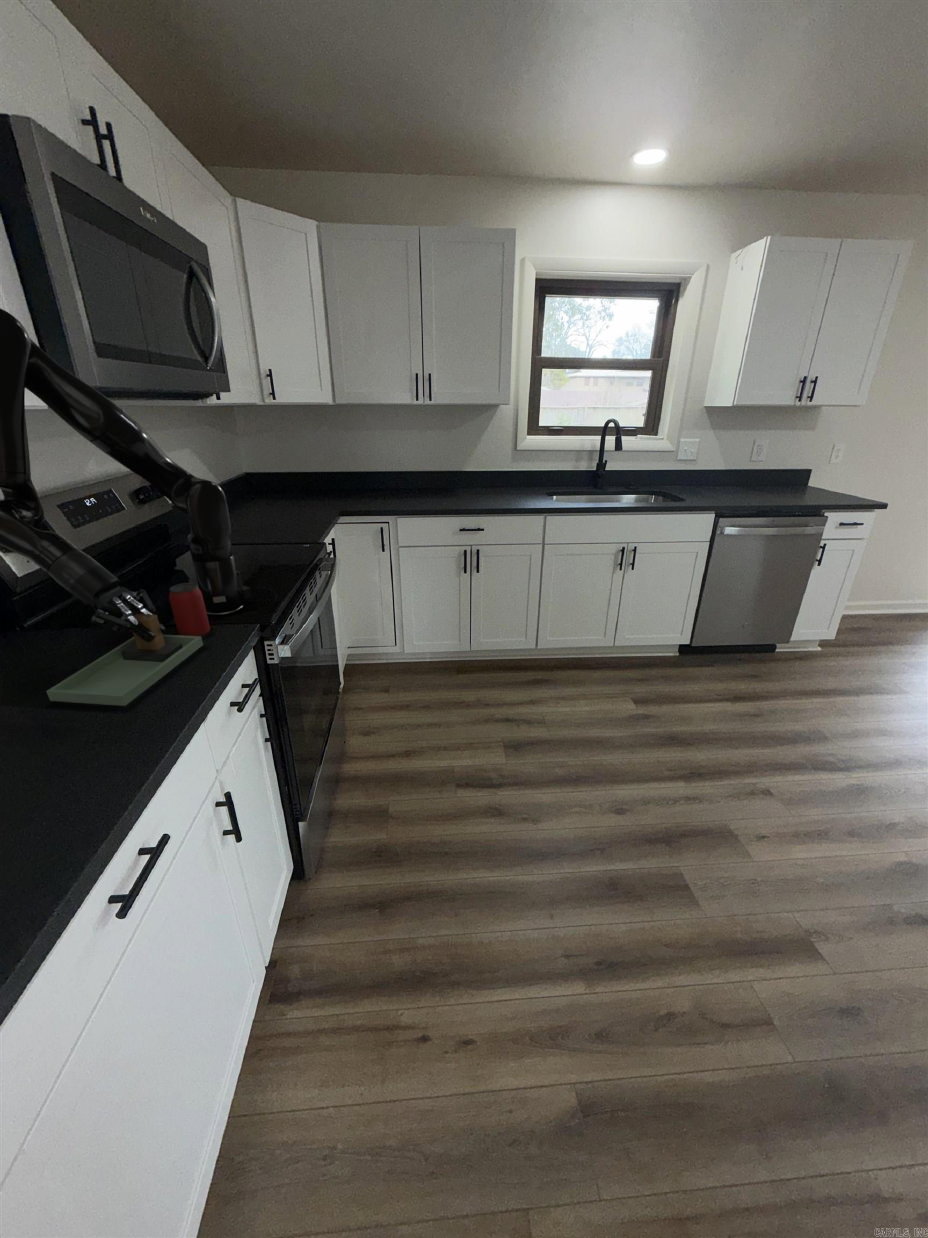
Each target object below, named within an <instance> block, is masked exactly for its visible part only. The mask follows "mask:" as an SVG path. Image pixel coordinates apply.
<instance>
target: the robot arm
mask: <svg viewBox="0 0 928 1238" xmlns="http://www.w3.org/2000/svg"><path fill="white" fill-rule="evenodd" d="M26 390H28V391H29V392H30V393H32V394H33V395H34V396H35V397H37V398H38V399H39V400H40V401H42V402H43V404H45V405H46V406H47V407H48V408H49V409H51V411H53V412H54V413H55V414H56V415H57V416H58V417H59V418H60V419H61V420H62V421H64V422H65V423H66V424H67V425H69V427H71V428H72V429H73V430H74V431H75V432H77V433H78V434H79V435H80V436H82V437H83V438H84V439H85V440H86V441H88V442H89V443H90V444H92V445H93V446H94V447H96V448H97V449H99V450H100V451H101V452H102V453H104V454H106V455H107V456H108V457H110V458H111V459H113V460H114V461H116V462H117V463H119V464H120V465H122V466H123V467H125V468H126V469H128V470H129V471H130V472H132V473H134V474H135V475H137V476H139V477H141V478H142V479H143V480H145V481H146V482H148V483H149V484H150V485H151V486H153V487H154V488H155V489H156V490H157V491H158V492H159V493H160V494H162V495H163V496H164V497H165V498H167V500H168V501H169V502H170V503H172V505H173V506H175V507H176V508H177V509H178V510H179V511H181V513H184V514H185V515H187V517H188V520H189V525H190V534H188V536H187V542H188V548H189V551H190V556H191V560H192V564H193V568H194V572H195V576H196V581H197V587H198V588H199V589H200V591H201V593H202V596H203V600H204V604H205V609H206V613H207V616H209V617H225V616H229V615H234V614H235V613H238V612H240V611H241V610H243V609H244V608H247V606H248V604H247V602H248V603H250V602H251V600H252V597H253V596H252V591H251V587H248V586H246V585H243V580H242V575H241V572H240V571H238V570H237V568H236V563H235V557H234V553H233V548H232V543H231V533H232V525H231V517H230V512H229V506H228V501H227V497H226V494H225V491H224V490H223V488H222V487H221V486H220V485H219V484H217V483H216V482H215V481H212V480H209V479H205V478H201V477H198V476H196V475H194V474H192V473H191V472H189V471H188V470H186V469H185V468H184V467H182V466H181V465H179V464H178V463H177V462H175V461H174V460H173V459H172V458H171V457H169V456H168V455H167V454H166V453H165V452H164V450H163V449H162V448H161V447H160V446H159V444H158V442H157V441H156V440H155V439H154V437H152V435H151V434H150V433H149V432H148V431H147V430H146V428H145V427H143V425H142V424H140V423H139V422H138V421H137V420H136V419H135V418H133V417H132V416H131V415H130V414H129V413H128V412H127V411H125V410H124V409H122V408H121V406H119V405H118V404H116V403H115V402H114V401H112V400H111V399H110V398H109V397H107V396H106V395H104V394H103V393H101V392H100V391H98V390H97V389H95V387H92V386H91V385H89V384H88V383H86V382H85V381H83V380H82V379H80V378H78V377H77V376H75V375H74V374H72V373H71V372H69V371H68V370H67V369H66V368H64V367H63V366H61V365H60V364H59V363H57V361H56V360H54V359H53V358H52V357H51V356H50V355H49V354H47V352H45V351H44V350H43V349H42V348H41V347H40V346H39V345H38V344H37V343H36V342H34V341H33V339H32V338H31V337H30V335H29V333H28V331H27V329H26V328H25V326H24V325H23V324H22V323H21V321H19V319H18V318H17V317H15V316H14V315H13V314H11V313H10V312H8V311H7V310H5V309H3V308H1V307H0V491H1V493H2V495H3V499H0V546H1V547H4V548H6V549H8V550H9V551H12V552H13V553H16V554H18V555H20V556H23V557H25V558H26V559H28V560H30V561H32V562H33V563H34V564H35V565H36V566H38V567H39V568H40V569H42V571H44V572H45V573H47V574H48V575H49V576H50V577H51V578H52V579H53V580H54V581H55V582H56V583H57V584H58V585H60V586H61V587H62V588H64V589H65V590H66V591H67V592H68V593H70V595H73V597H75V598H76V599H77V600H79V601H80V602H81V603H83V604H84V605H85V606H86V607H89V608H90V607H91V608H93V610H94V611H95V612H94V614H93V615H92V617H91V618H90V619H89V620H90V621H89V622H90V623H92V624H94V625H96V626H99V627H102V628H104V629H107V630H109V631H113V632H115V633H119V634H125V632H126V633H127V632H130V633H132V634H133V633H135V634H136V635H137V636H139V637H140V638H141V639H142V640H144V641H147V642H149V643H150V642H151V641H153V640H154V638H155V637H156V635H155V634H154V633H153V632H151V631H150V630H149V629H148V628H146V627H145V626H144V625H143V624H139V621H138V620H136V619H135V618H134V617H133V616H134V615H136V614H151V615H154V613H155V612H156V610H157V609H156V607H155V605H154V604H153V602H152V600H151V598H150V597H149V595H148V593H147V592H146V590H145V589H143V588H141V589H139V590H138V591H131V590H130V589H129V588H126V587H124V586H122V584H121V580H120V579H119V578H118V577H117V576H115V575H114V574H113V573H112V572H110V571H109V570H108V569H107V568H105V567H104V566H103V565H101V563H99V562H98V561H97V560H95V559H94V558H93V557H92V556H90V555H88V554H87V553H86V552H84V551H82V550H81V549H79V548H78V547H77V546H76V545H75V544H74V543H73V542H72V541H70V540H68V539H67V538H66V537H65V536H64V535H62V534H61V533H59V532H56V531H51V530H50V531H49V530H42V529H41V528H42V526H43V524H44V521H45V512H44V508H43V506H42V505H43V504H42V502H41V500H40V497H39V495H38V492H37V489H36V487H35V484H34V482H33V479H32V472H31V471H32V470H31V459H30V447H29V446H30V445H29V437H28V428H27V419H26V405H25V403H26V401H25V400H26V399H25V398H26V397H25V394H26ZM159 625H160V629H161V632H162V635H164V633H165V632H166V628H165V626H164V625H163V624H162V623H161V622H160V621H159Z"/></svg>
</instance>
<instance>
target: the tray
mask: <svg viewBox="0 0 928 1238" xmlns="http://www.w3.org/2000/svg"><path fill="white" fill-rule="evenodd" d="M162 636H163V639H164V642H172V643H182V647H183V648H182V649H180V650H179V651H178V652H176V653H175V654H174V655H172V656H171V657H169V658H168V659H167V660H165V661H164V662H152V661H135V660H123V656H122V653H121V651H122V650H124V649H126V648H127V647H129V646H130V645H132V644H133V643H135V642H136V641H135V638H134V636H133V637H131V638H129V639H128V640H126V641H125V642H123V643H121V644H120V645H118V646H116V647H115V648H113V649H112V650H110V651H108V652H107V653H105V654H103V655H102V656H100V657H99V658H97V659H95V660H94V661H93V662H91V663H89V664H88V665H86V666H84V667H83V668H81V669H80V670H78V671H76V672H75V673H73V674H71V675H70V676H68V677H66V678H65V679H63V680H62V681H60V682H59V683H57V684H56V685H54V686H52V687H50V688H49V689H47V690H46V695H47V696H48V699H49V701H50V702H63V703H74V704H75V703H77V704H78V703H79V704H91V705H104V706H105V705H108V706H121V707H126V706H127V705H128V704H130V703H131V702H133V700H135V699H136V698H137V697H139V696H140V695H141V694H142V693H144V692H145V691H146V690H147V689H149V688H150V687H151V686H153V685H155V683H156V682H158V680H159V681H160V679H162V678H163V677H164V676H165V675H167V674H168V673H169V672H170V671H172V670H173V669H174V668H176V667H177V666H178V665H179V664H180V663H181V664H182V662H183V661H185V660H186V659H187V658H188V657H190V656H191V655H192V654H194V653H195V652H196V651H198V650H199V648H201V647H202V646H204V643H203V639H202V638H203V637H202V636H181V635H179V634H162Z"/></svg>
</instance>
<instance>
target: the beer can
mask: <svg viewBox="0 0 928 1238" xmlns="http://www.w3.org/2000/svg"><path fill="white" fill-rule="evenodd" d="M168 599H169V600H168V601H169V604H170V607H171V611H172V614H173V618H174V621H175V622H174V623H175V625H176V630H177V633H178V635H181V636H200V637H202V636H203V635H206V634H208V633H209V632H210V631H211V626H210V625H211V624H210V622H209V617H208V615H207V613H206V609H205V604H204V600H203V596H202V593H201V591H200V589H199V586H198V583H194V582H183V583H178V584H175V585H172V586H171V587H169V594H168Z"/></svg>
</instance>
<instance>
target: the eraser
mask: <svg viewBox="0 0 928 1238" xmlns="http://www.w3.org/2000/svg"><path fill="white" fill-rule="evenodd" d="M133 617H134V618H135V619H136V620H138V621H139V624H143V625H144V626H145V627H146V628H148V629H149V630H150V631H151V632H153V633H154V634H155V635H156V637H155V638H154V640H153V641H151V642H150V643H149V642H147V641H144V640H142V639H141V638H140V637H139V636H137V635H136V634H135V633H133V632H132V634H133V637H134V638H135V641H136V642H135V643H133V644H132V645H130V646H129V647H127V648H126V649H124V650H122V651H121V653H122V656H123V660H135V661H152V662H164V661H165V660H167V659H168V658H169V657H171V656H172V655H174V654H175V653H176V652H178V651H179V650H180V649H182V648H183V647H182V643H172V642H164V639H163V636H162V635H163V634H162V632H161V629H160V625H159V622H160V621H159V618H158V615H157V614H153V615H151V614H141V613H139V614H136V615H134V616H133Z"/></svg>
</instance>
